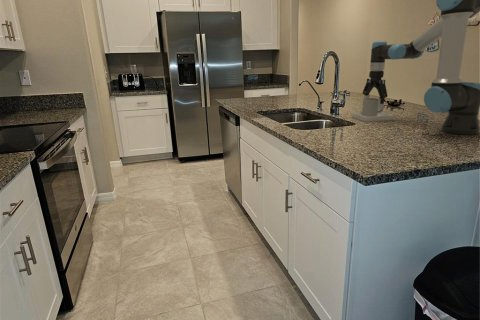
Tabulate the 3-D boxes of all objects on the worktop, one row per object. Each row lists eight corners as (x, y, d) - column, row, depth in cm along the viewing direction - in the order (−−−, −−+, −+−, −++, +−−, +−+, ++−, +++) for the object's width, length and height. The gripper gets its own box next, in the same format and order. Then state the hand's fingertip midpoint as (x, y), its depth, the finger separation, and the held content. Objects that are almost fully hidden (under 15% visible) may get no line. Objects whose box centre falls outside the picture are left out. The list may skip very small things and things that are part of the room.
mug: (364, 119, 182) (366, 100, 179) (359, 116, 190) (360, 98, 187) (385, 118, 182) (387, 99, 178) (379, 116, 190) (381, 97, 187)
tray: (376, 115, 195) (377, 111, 194) (393, 120, 181) (394, 115, 180) (351, 117, 192) (351, 112, 191) (366, 122, 177) (366, 117, 177)
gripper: (358, 70, 189) (355, 105, 195) (385, 71, 165) (380, 111, 172) (369, 69, 190) (366, 104, 197) (397, 70, 167) (392, 110, 173)
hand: (372, 108), depth 184 cm, fingers open, 13 cm apart
